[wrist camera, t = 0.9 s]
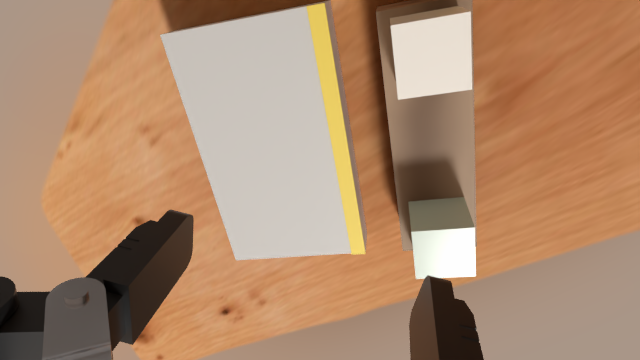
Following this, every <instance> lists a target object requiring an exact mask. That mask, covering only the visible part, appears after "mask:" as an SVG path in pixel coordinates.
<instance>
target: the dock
mask: <svg viewBox="0 0 640 360" xmlns="http://www.w3.org/2000/svg"><path fill="white" fill-rule="evenodd" d="M160 36H161V39H162V42H163V45H164V48H165V51H166V54H167V57H168V60H169V63H170V66H171V69H172V72H173V75H174V78H175V81H176V84H177V87H178V89H179V92H180V95H181V98H182V101H183V104H184V107H185V110H186V113H187V116H188V119H189V122H190V125H191V128H192V131H193V134H194V137H195V140H196V143H197V146H198V149H199V152H200V155H201V158H202V161H203V164H204V167H205V170H206V173H207V176H208V179H209V181H210V184H211V187H212V190H213V193H214V196H215V199H216V202H217V205H218V208H219V211H220V214H221V217H222V220H223V223H224V226H225V229H226V232H227V235H228V238H229V241H230V244H231V247H232V250H233V253H234V256H235V259H236V260H249V259H265V258H281V257H298V256H314V255H330V254H347V253H351V254H352V255H353V254H366V240H367V229H366V223H365V217H364V210H363V204H362V198H361V191H360V185H359V179H358V172H357V166H356V160H355V153H354V147H353V140H352V134H351V128H350V121H349V115H348V109H347V102H346V96H345V90H344V83H343V77H342V71H341V64H340V58H339V51H338V45H337V39H336V32H335V26H334V20H333V13H332V7H331V1H330V0H328V1H323V2H318V3H313V4H308V5H302V6H297V7H292V8H287V9H282V10H277V11H272V12H267V13H262V14H256V15H251V16H246V17H241V18H236V19H231V20H226V21H221V22H216V23H210V24H205V25H200V26H195V27H190V28H185V29H180V30H176V31H172V32H169V33H165V34H161V35H160Z"/></svg>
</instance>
